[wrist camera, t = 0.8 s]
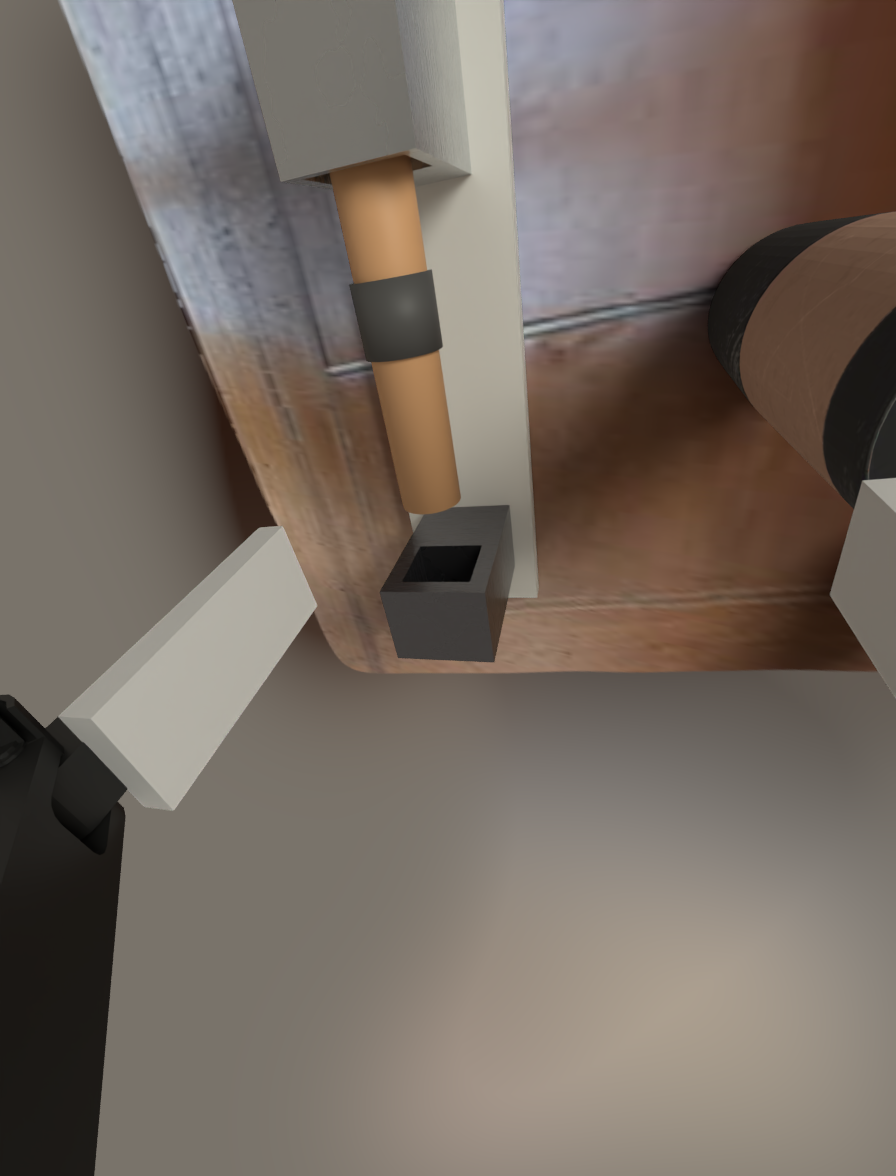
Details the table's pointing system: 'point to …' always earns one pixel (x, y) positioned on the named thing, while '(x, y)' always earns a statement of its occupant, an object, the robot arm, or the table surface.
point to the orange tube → (399, 326)
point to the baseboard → (484, 295)
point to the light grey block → (358, 85)
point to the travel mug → (818, 342)
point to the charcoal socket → (452, 585)
